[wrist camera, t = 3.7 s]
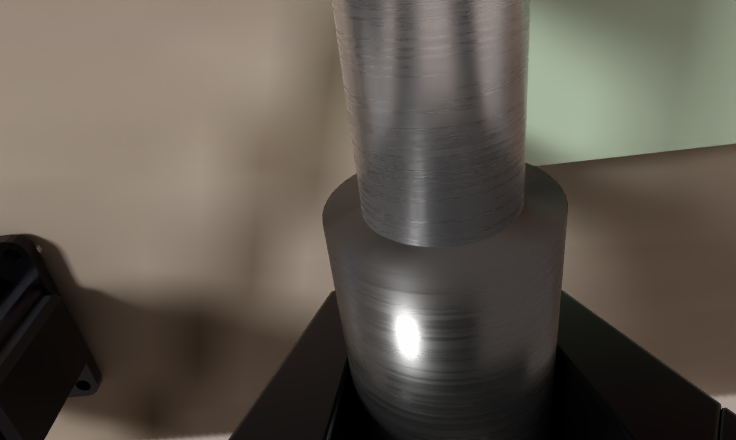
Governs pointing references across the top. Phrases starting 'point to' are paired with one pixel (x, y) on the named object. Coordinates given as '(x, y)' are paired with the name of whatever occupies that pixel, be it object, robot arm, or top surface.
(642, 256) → the top surface
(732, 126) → the foosball frame
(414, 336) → the rod
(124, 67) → the top surface
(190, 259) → the top surface
